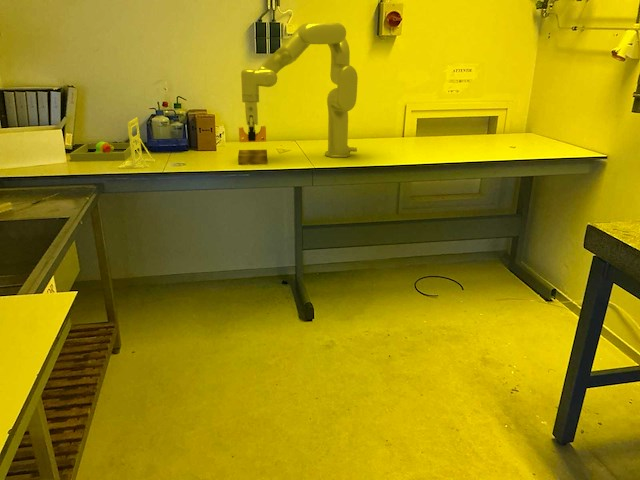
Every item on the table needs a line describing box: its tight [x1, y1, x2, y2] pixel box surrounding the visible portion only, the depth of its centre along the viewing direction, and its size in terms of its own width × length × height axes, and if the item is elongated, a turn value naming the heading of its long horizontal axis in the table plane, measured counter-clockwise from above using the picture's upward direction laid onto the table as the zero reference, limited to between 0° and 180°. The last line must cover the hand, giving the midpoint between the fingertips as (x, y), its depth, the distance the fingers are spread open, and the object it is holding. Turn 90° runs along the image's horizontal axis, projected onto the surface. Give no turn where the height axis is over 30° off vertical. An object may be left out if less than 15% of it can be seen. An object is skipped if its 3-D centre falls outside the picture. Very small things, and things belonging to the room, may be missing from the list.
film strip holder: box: [116, 117, 156, 169], centre depth 228 cm, size 14×14×20 cm
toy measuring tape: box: [94, 141, 115, 153], centre depth 245 cm, size 6×19×7 cm, turn 152°
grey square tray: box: [69, 142, 132, 162], centre depth 248 cm, size 24×24×4 cm
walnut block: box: [237, 149, 268, 166], centre depth 239 cm, size 13×13×4 cm
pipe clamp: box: [238, 125, 267, 143], centre depth 235 cm, size 12×4×6 cm, turn 102°
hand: (252, 139), depth 236 cm, fingers closed on pipe clamp, 4 cm apart
